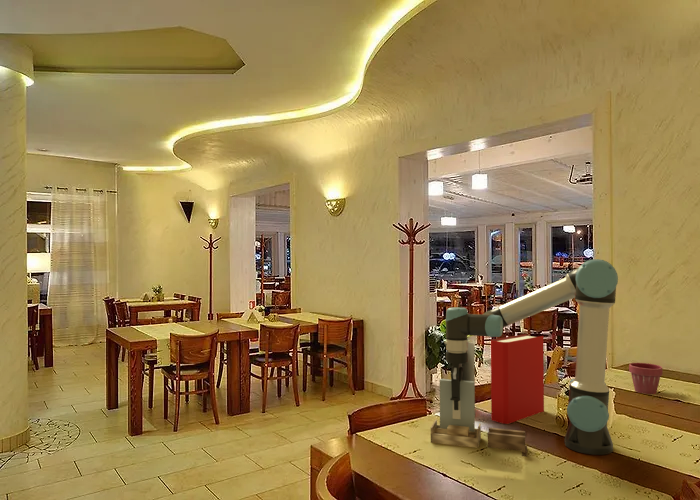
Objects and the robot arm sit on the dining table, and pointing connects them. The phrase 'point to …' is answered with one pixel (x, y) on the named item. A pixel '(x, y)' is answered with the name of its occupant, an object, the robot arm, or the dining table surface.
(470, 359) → the tall grey block
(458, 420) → the grey panel
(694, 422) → the dining table surface
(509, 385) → the book
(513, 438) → the stand
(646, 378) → the plant pot
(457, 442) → the tray
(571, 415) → the robot arm
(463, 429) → the offcut
